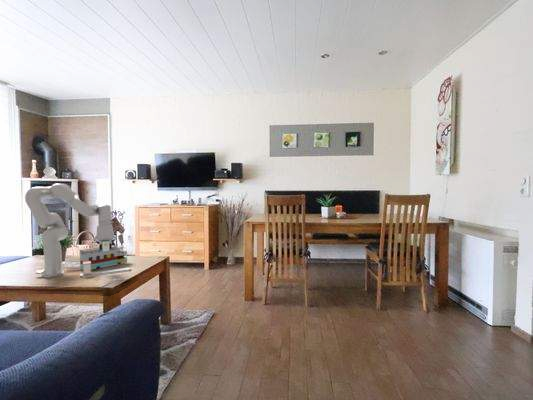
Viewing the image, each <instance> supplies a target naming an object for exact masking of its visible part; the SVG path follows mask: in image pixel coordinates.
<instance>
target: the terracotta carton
mask: <svg viewBox="0 0 533 400" xmlns="http://www.w3.org/2000/svg"><path fill="white" fill-rule="evenodd" d="M91 272H92V270H91V261H88V262H83V270H82V273H83V275H90V274H91Z"/></svg>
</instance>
